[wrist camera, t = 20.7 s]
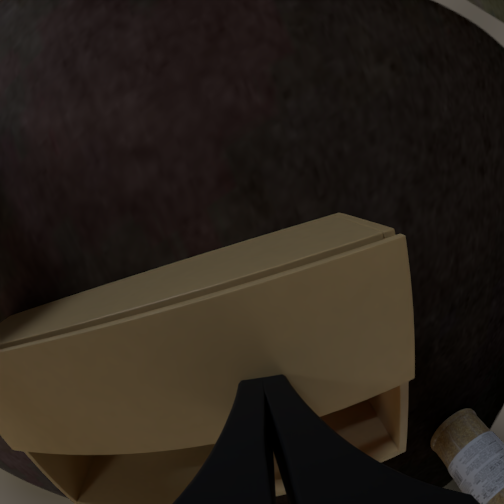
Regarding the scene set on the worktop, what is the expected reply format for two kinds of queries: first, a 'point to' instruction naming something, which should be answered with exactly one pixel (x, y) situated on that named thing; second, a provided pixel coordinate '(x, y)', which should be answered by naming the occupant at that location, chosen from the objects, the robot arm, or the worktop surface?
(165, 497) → the carton
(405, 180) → the worktop surface
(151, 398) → the flap
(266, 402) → the robot arm
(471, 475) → the sprinkles bottle
